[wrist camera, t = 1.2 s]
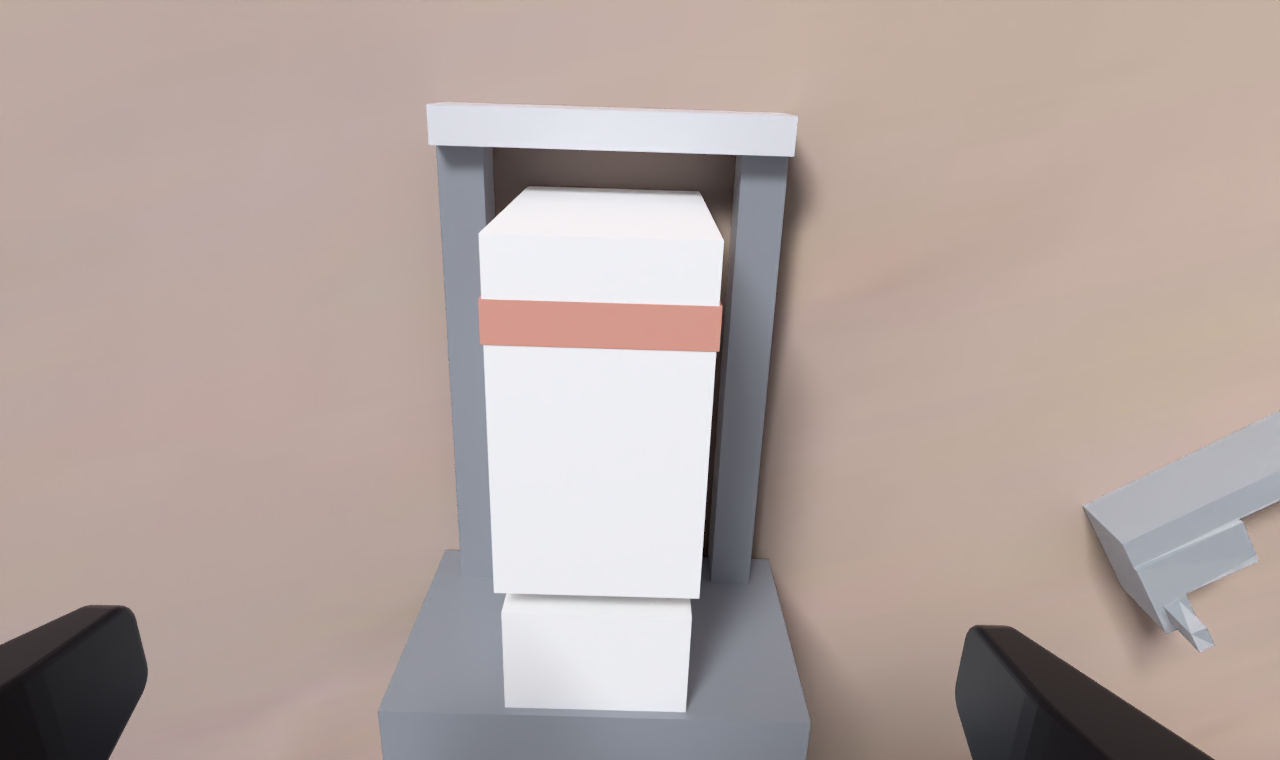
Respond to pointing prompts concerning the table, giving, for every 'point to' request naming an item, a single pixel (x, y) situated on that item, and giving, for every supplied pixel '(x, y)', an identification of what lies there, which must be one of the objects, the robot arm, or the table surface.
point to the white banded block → (599, 389)
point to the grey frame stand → (606, 625)
